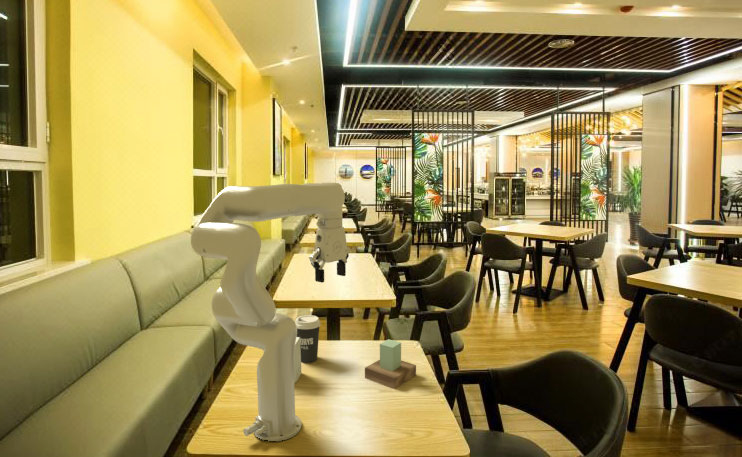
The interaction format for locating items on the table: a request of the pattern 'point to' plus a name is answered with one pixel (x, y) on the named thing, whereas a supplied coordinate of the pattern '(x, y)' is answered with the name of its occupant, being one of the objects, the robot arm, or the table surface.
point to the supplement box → (297, 360)
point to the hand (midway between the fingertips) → (330, 278)
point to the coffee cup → (308, 337)
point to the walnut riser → (390, 374)
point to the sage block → (390, 355)
